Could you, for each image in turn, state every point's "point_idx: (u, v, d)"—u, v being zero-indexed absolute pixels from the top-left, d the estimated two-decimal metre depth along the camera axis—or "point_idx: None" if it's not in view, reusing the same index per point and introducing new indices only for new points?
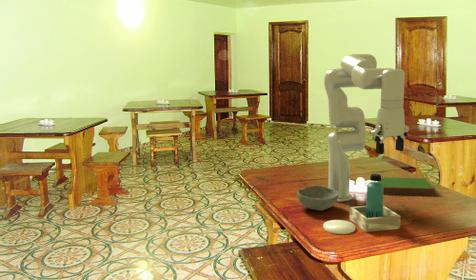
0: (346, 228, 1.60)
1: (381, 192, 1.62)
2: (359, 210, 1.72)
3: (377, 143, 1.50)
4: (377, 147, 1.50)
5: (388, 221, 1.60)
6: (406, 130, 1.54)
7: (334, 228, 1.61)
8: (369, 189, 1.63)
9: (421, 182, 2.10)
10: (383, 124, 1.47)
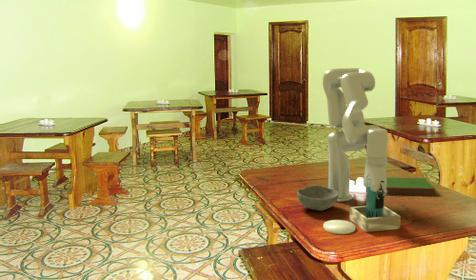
0: (346, 228, 1.60)
1: None
2: (359, 210, 1.72)
3: (380, 199, 1.60)
4: (380, 203, 1.61)
5: (388, 221, 1.60)
6: None
7: (334, 228, 1.61)
8: (369, 189, 1.63)
9: (421, 182, 2.11)
10: (385, 180, 1.59)
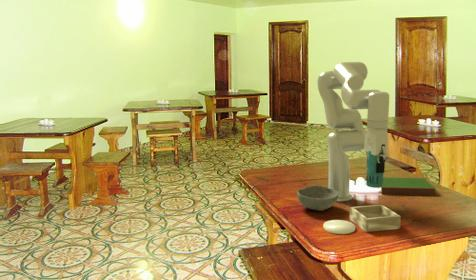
0: (346, 228, 1.60)
1: None
2: (359, 210, 1.72)
3: (381, 164, 1.58)
4: (381, 167, 1.59)
5: (388, 221, 1.60)
6: None
7: (334, 228, 1.61)
8: (370, 153, 1.61)
9: (421, 182, 2.11)
10: (386, 143, 1.57)
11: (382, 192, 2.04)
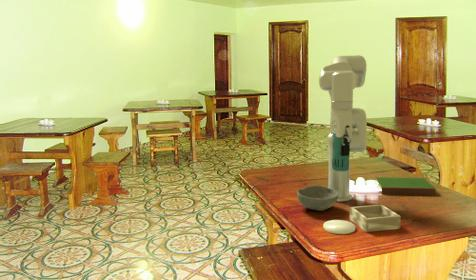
0: (346, 228, 1.60)
1: None
2: (359, 210, 1.72)
3: (345, 146, 1.53)
4: (345, 150, 1.53)
5: (388, 221, 1.60)
6: None
7: (334, 228, 1.61)
8: (335, 136, 1.56)
9: (421, 182, 2.11)
10: (350, 125, 1.52)
11: (382, 192, 2.04)
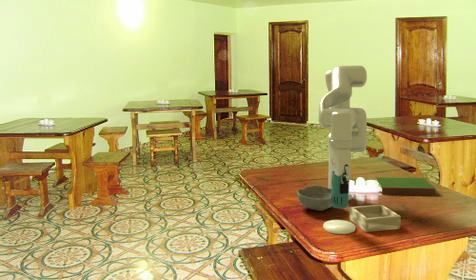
0: (346, 228, 1.60)
1: None
2: (359, 210, 1.72)
3: (344, 184, 1.56)
4: (344, 188, 1.56)
5: (388, 221, 1.60)
6: None
7: (334, 228, 1.61)
8: (334, 173, 1.58)
9: (421, 182, 2.11)
10: (349, 164, 1.54)
11: (382, 192, 2.04)
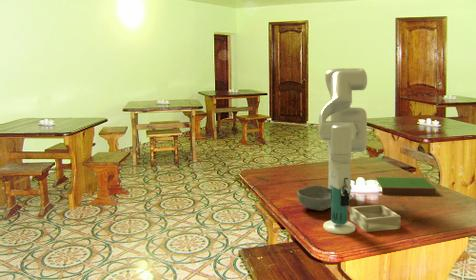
0: (346, 228, 1.60)
1: None
2: (359, 210, 1.72)
3: (345, 196, 1.56)
4: (345, 200, 1.56)
5: (388, 221, 1.60)
6: None
7: (334, 228, 1.61)
8: (333, 190, 1.60)
9: (421, 182, 2.11)
10: (349, 177, 1.55)
11: (383, 192, 2.04)
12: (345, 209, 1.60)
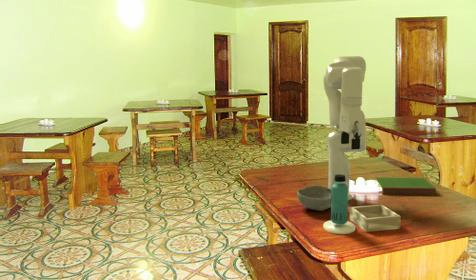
0: (346, 228, 1.60)
1: (345, 193, 1.59)
2: (359, 210, 1.72)
3: (356, 139, 1.55)
4: (356, 143, 1.56)
5: (388, 221, 1.60)
6: None
7: (334, 228, 1.61)
8: (333, 190, 1.60)
9: (421, 182, 2.11)
10: (359, 120, 1.55)
11: (383, 192, 2.04)
12: (345, 209, 1.60)
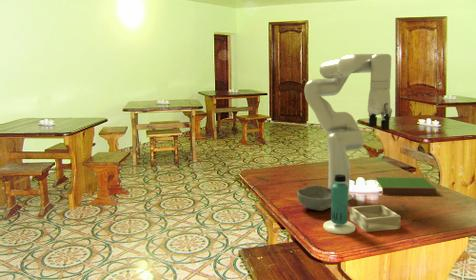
0: (346, 228, 1.60)
1: (345, 193, 1.59)
2: (359, 210, 1.72)
3: (386, 120, 1.65)
4: (385, 124, 1.65)
5: (388, 221, 1.60)
6: None
7: (334, 228, 1.61)
8: (333, 190, 1.60)
9: (421, 182, 2.11)
10: (388, 102, 1.65)
11: (383, 192, 2.03)
12: (345, 209, 1.60)
